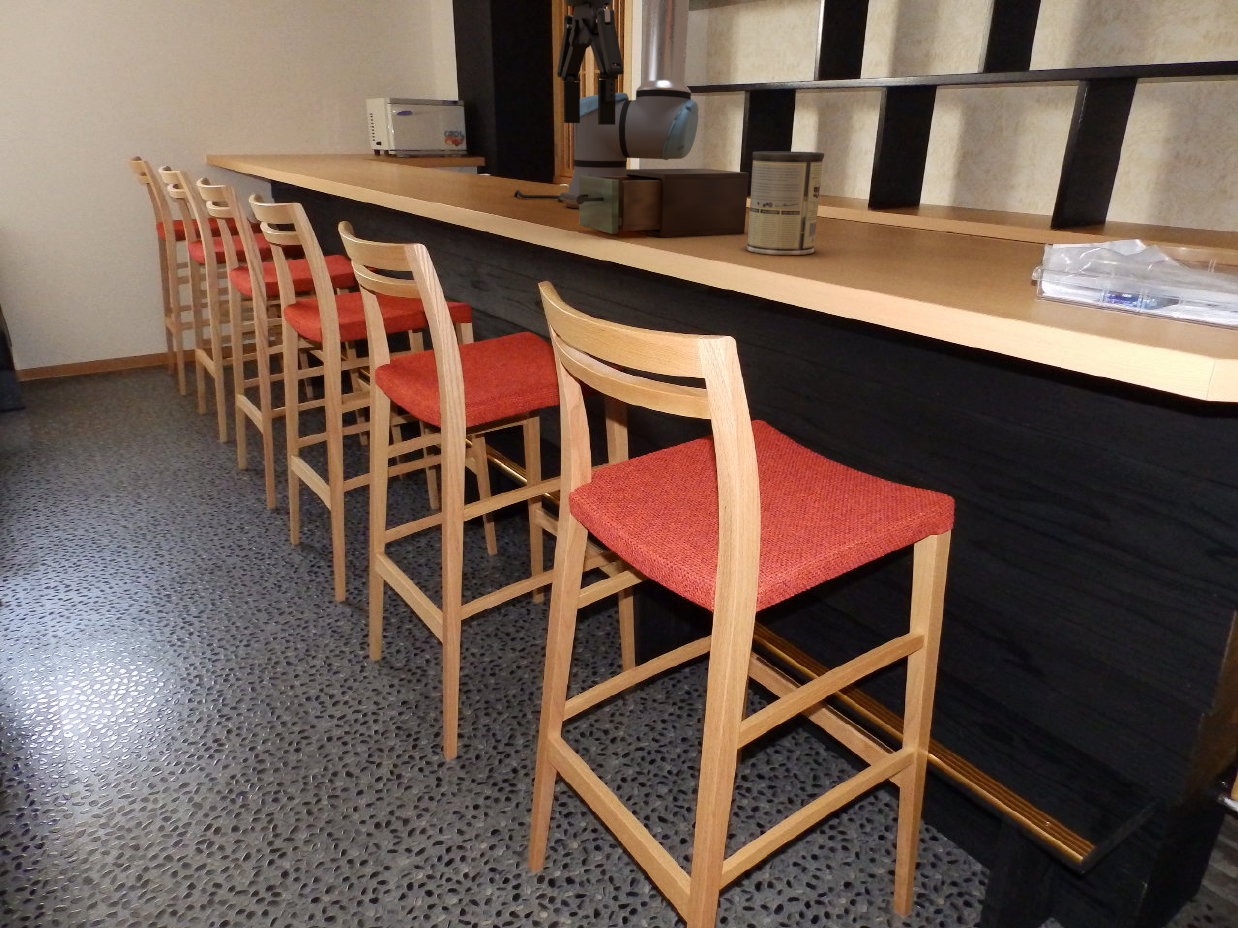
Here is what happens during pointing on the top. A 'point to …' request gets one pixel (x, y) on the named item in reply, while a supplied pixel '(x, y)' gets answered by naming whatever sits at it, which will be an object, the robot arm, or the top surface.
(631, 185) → the drawer
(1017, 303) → the top surface
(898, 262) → the top surface
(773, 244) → the coffee can
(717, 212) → the cabinet
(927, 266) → the top surface
